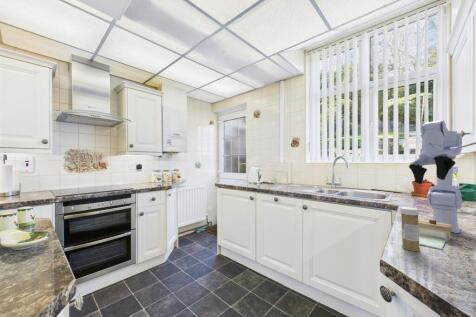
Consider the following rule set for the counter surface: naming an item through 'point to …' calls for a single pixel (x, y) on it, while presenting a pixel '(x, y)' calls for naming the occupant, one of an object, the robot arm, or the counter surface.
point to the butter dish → (434, 234)
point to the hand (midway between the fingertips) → (429, 180)
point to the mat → (431, 242)
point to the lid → (435, 226)
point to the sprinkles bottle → (410, 228)
